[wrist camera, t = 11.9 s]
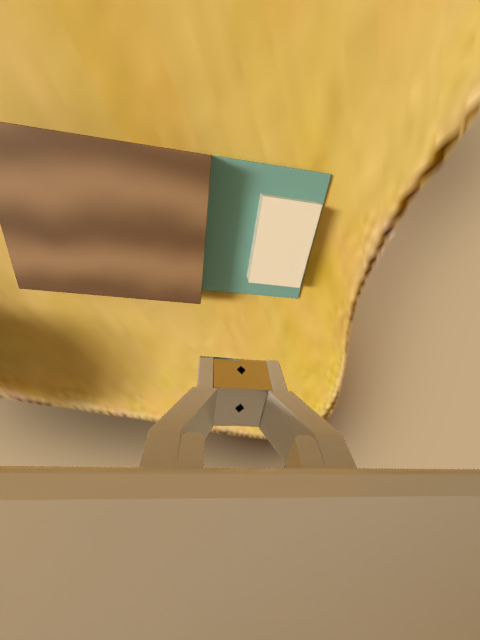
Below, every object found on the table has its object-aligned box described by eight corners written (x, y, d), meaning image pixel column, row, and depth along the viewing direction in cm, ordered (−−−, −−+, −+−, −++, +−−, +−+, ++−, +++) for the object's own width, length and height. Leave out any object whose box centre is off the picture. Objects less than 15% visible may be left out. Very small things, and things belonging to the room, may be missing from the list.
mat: (211, 155, 26) (211, 155, 26) (330, 174, 28) (331, 174, 28) (202, 288, 33) (201, 289, 33) (297, 297, 35) (297, 298, 35)
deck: (4, 122, 24) (-31, 117, 21) (211, 155, 26) (211, 155, 23) (40, 273, 31) (19, 288, 28) (202, 288, 33) (200, 303, 30)
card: (322, 204, 27) (316, 201, 29) (263, 195, 27) (260, 193, 28) (299, 287, 32) (295, 281, 34) (248, 282, 31) (246, 275, 33)
